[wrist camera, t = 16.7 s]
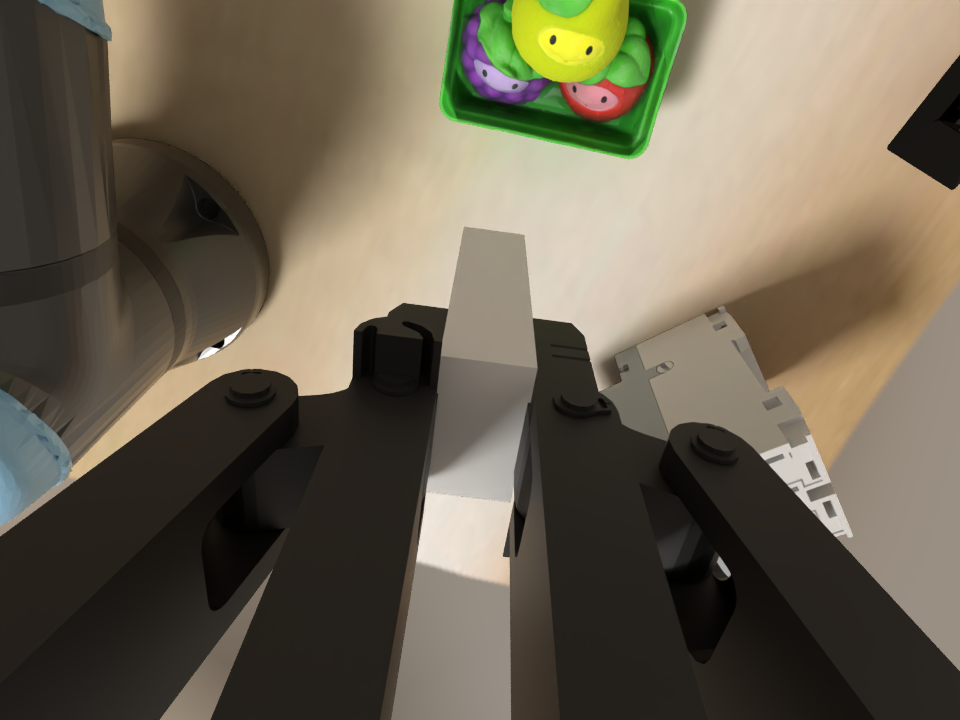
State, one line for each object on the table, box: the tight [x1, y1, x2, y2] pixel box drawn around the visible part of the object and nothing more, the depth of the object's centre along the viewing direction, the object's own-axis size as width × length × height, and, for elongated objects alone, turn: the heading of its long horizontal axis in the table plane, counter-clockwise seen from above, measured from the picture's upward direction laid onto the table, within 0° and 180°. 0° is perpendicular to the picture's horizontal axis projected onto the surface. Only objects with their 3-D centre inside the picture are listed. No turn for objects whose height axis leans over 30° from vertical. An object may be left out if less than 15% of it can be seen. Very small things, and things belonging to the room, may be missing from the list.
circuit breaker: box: [600, 305, 853, 577], centre depth 39 cm, size 8×14×15 cm, turn 121°
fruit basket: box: [440, 0, 687, 159], centre depth 30 cm, size 11×9×11 cm
